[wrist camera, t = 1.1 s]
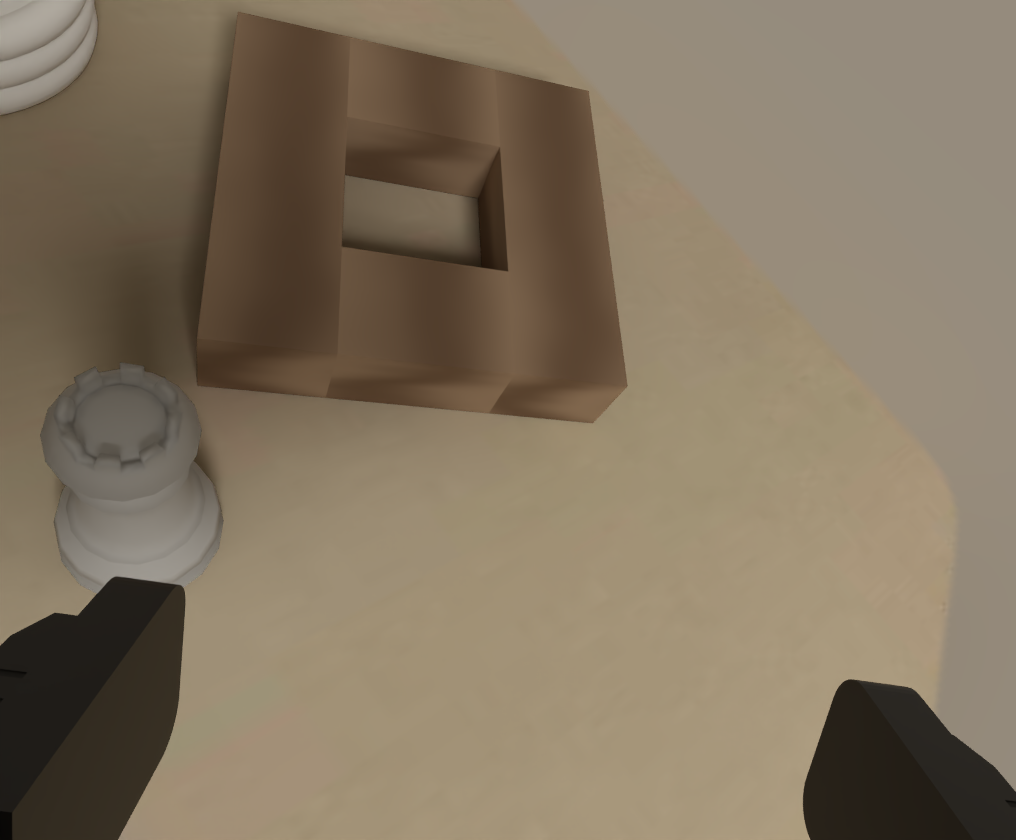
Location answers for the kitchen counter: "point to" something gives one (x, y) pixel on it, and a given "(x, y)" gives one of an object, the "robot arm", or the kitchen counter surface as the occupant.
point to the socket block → (394, 278)
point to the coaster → (42, 48)
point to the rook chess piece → (130, 480)
